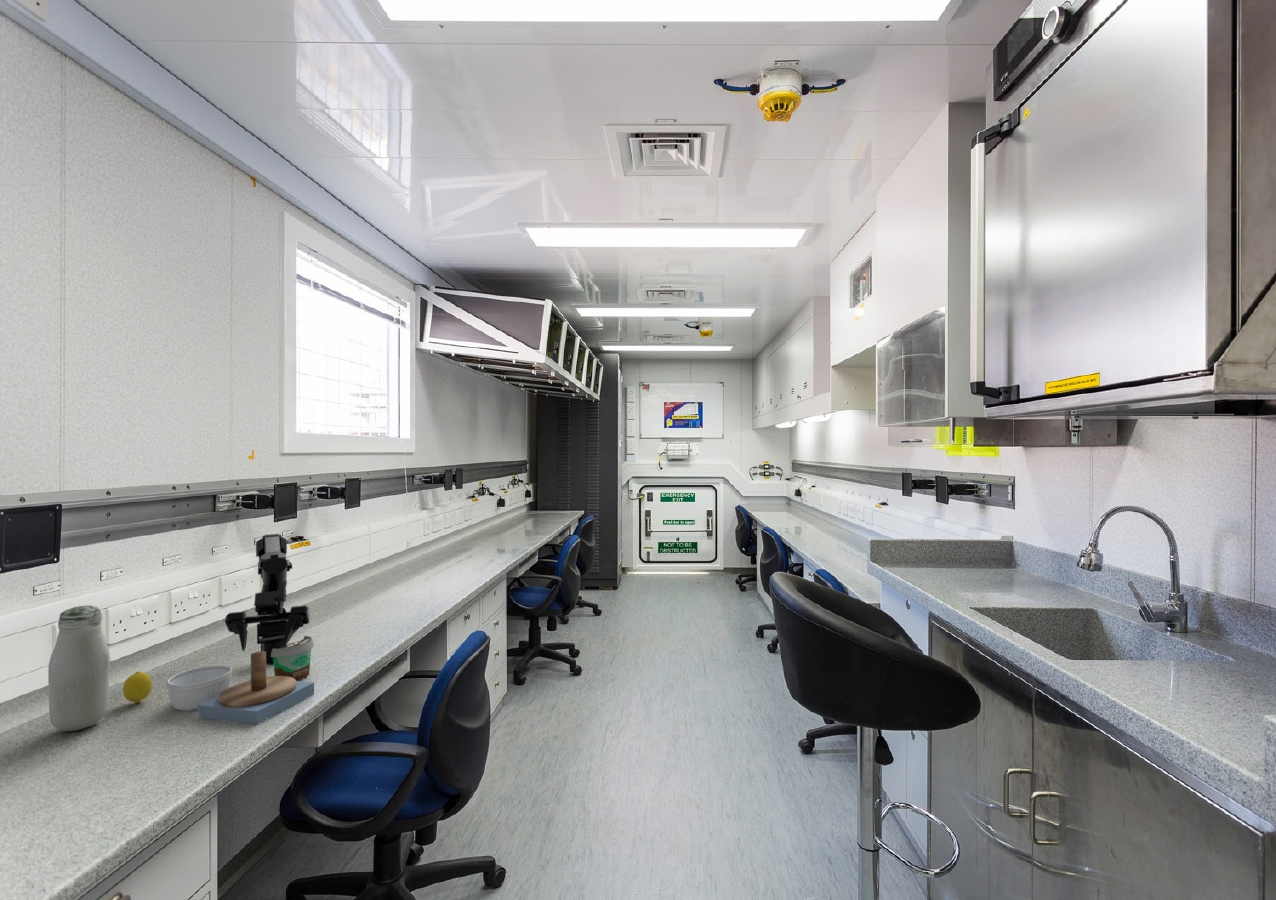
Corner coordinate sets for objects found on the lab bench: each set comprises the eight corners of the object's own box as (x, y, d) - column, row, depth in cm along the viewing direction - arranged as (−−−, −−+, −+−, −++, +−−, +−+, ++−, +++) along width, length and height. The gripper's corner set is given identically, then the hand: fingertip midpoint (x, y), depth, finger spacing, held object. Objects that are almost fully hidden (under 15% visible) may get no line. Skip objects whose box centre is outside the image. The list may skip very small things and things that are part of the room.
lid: (202, 704, 137) (201, 662, 137) (260, 678, 153) (259, 640, 153) (257, 710, 133) (256, 667, 133) (310, 683, 149) (310, 644, 149)
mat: (198, 717, 137) (198, 705, 137) (260, 688, 153) (260, 677, 153) (257, 724, 133) (257, 711, 133) (314, 693, 149) (314, 682, 149)
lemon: (157, 699, 147) (157, 668, 147) (132, 709, 142) (131, 676, 142) (143, 697, 149) (142, 666, 149) (117, 706, 144) (117, 674, 144)
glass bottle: (43, 742, 125) (41, 615, 126) (58, 724, 134) (57, 605, 134) (103, 730, 131) (102, 608, 131) (114, 713, 139) (113, 598, 139)
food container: (290, 687, 154) (290, 650, 154) (271, 686, 155) (270, 649, 155) (324, 670, 166) (324, 636, 166) (306, 669, 167) (305, 635, 167)
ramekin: (205, 713, 139) (205, 684, 139) (152, 713, 139) (152, 685, 139) (244, 690, 152) (244, 664, 152) (195, 690, 153) (195, 664, 153)
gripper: (226, 582, 150) (213, 636, 140) (307, 575, 157) (301, 626, 147) (235, 605, 158) (223, 658, 147) (312, 597, 165) (306, 648, 154)
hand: (264, 647), depth 149 cm, fingers open, 9 cm apart
